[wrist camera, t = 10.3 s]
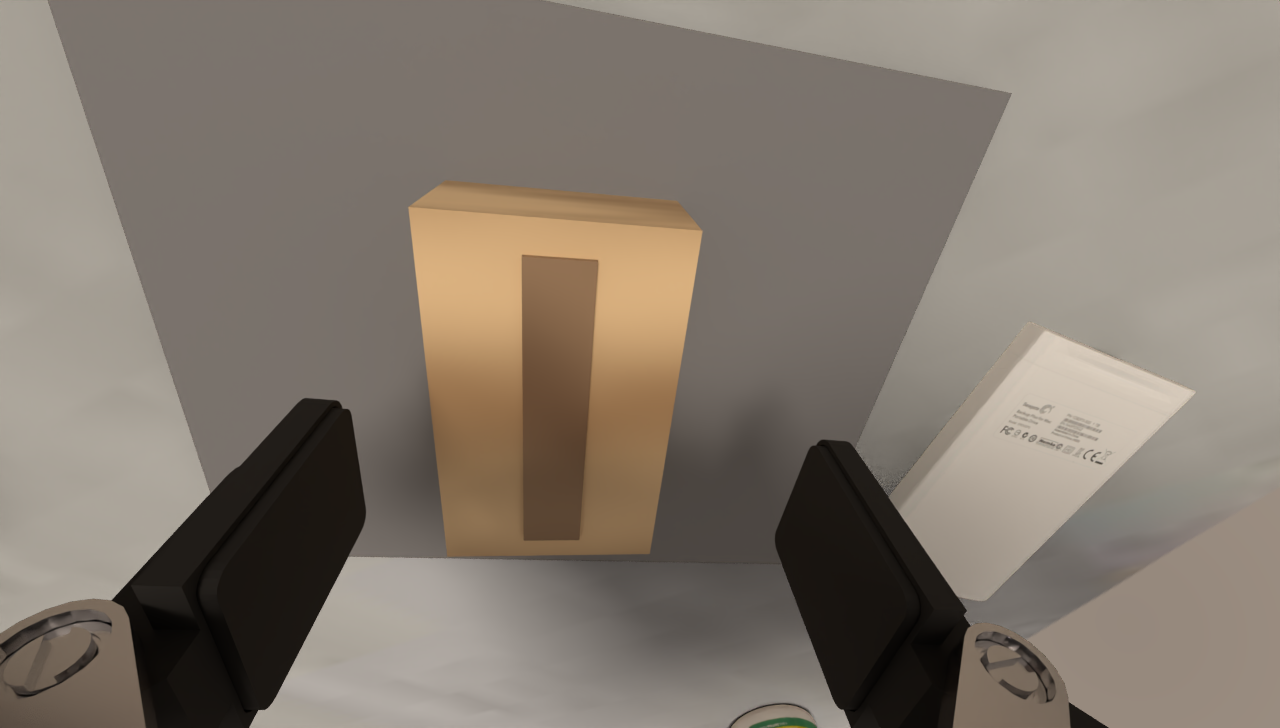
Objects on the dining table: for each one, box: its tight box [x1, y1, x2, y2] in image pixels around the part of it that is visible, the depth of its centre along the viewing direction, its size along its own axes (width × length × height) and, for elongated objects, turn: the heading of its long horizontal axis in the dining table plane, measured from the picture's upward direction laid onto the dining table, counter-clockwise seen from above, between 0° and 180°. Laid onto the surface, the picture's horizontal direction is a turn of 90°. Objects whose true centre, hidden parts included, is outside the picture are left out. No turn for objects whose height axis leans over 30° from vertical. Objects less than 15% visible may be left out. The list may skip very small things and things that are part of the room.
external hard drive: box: [889, 322, 1196, 602], centre depth 21 cm, size 2×8×12 cm
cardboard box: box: [408, 180, 703, 557], centre depth 14 cm, size 10×6×3 cm, turn 174°
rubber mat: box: [48, 0, 1012, 564], centre depth 16 cm, size 22×18×1 cm
